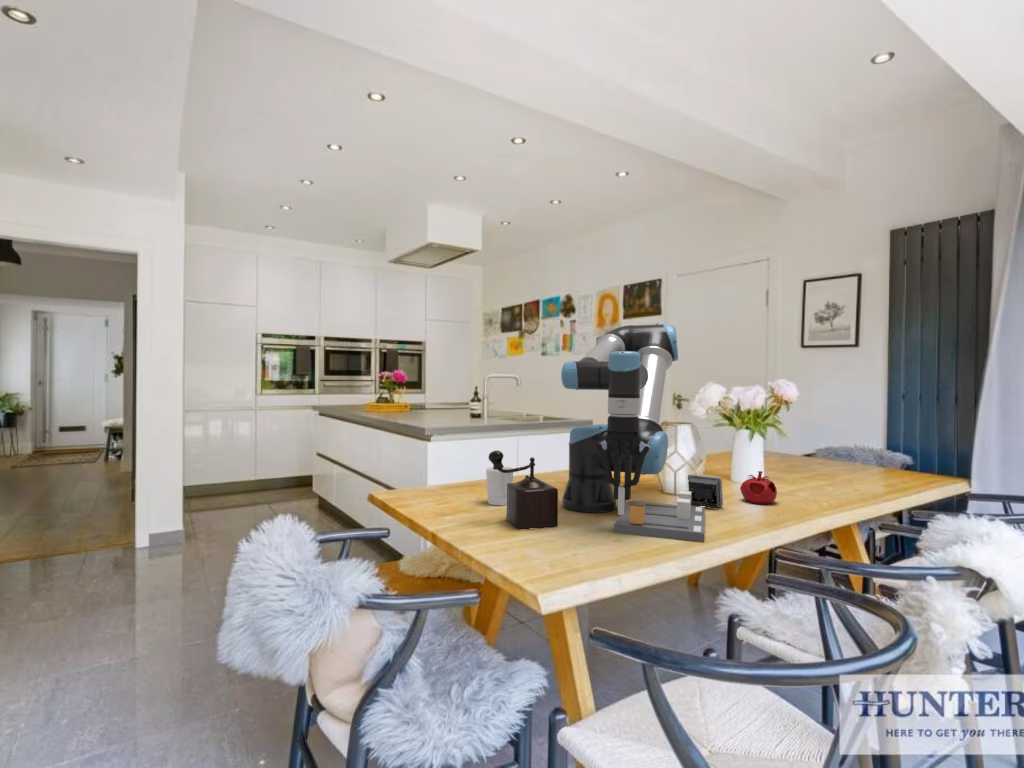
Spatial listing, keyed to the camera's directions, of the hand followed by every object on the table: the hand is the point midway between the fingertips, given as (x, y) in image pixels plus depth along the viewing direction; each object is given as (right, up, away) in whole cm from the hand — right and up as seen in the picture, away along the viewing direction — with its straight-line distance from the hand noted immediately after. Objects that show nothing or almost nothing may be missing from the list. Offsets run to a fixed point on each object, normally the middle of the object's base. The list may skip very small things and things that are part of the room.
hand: (621, 513), depth 129 cm
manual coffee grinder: (-24, -4, +5) cm, 25 cm away
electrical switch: (+29, -4, +25) cm, 38 cm away
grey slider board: (+12, -4, +7) cm, 14 cm away
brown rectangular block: (+4, -2, -1) cm, 4 cm away
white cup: (-30, -4, +26) cm, 40 cm away
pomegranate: (+47, -5, +32) cm, 57 cm away
